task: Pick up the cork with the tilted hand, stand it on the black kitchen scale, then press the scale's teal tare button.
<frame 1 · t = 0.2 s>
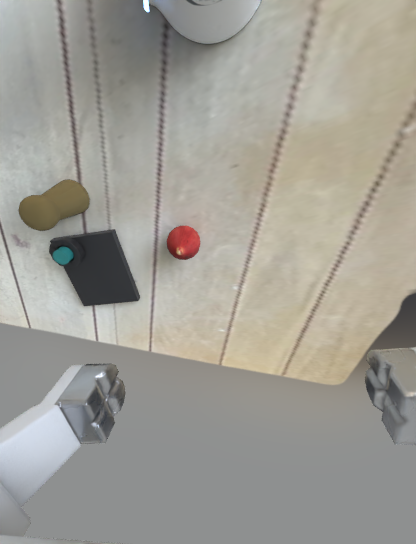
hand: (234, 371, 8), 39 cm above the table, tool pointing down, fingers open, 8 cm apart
scale: (99, 269, 54), on the table
cork: (73, 196, 46), on the table
onion: (187, 234, 48), on the table
tare button: (63, 255, 49), point 4 cm above the table, slide at 0.1 cm
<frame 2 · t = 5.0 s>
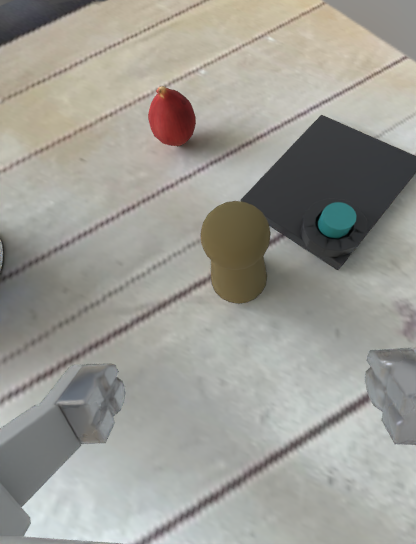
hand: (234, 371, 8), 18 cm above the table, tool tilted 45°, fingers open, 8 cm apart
scale: (326, 188, 30), on the table
cork: (238, 277, 28), on the table
onion: (179, 144, 36), on the table
tare button: (336, 220, 25), point 4 cm above the table, slide at 0.1 cm
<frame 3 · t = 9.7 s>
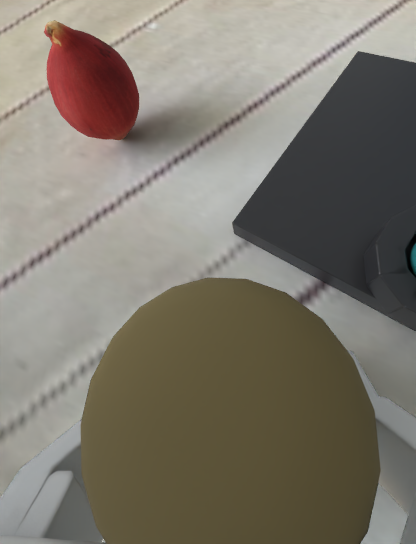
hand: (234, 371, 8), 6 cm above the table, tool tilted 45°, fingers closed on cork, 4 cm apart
scale: (393, 181, 16), on the table
cork: (246, 382, 14), on the table, touching gripper
onion: (123, 137, 22), on the table
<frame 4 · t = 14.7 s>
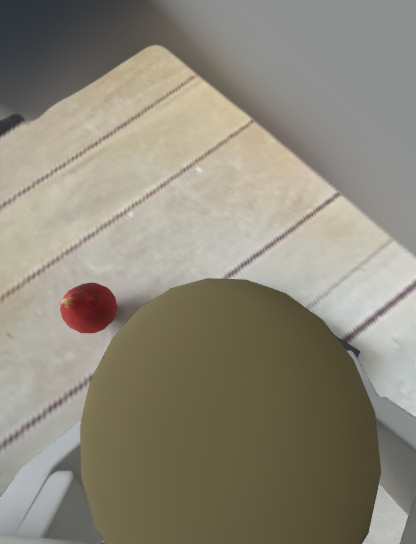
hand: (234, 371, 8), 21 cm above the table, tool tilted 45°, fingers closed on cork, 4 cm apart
cork: (246, 382, 14), point 15 cm above the table, touching gripper
onion: (108, 314, 34), on the table
when the fingers open (7 cm above the table, at t = 19.5 s): cork stays where it is, resting on scale.
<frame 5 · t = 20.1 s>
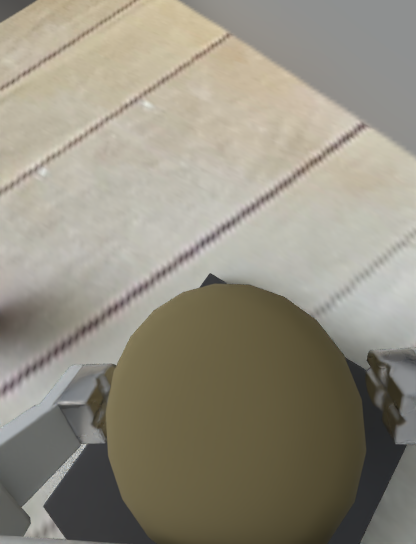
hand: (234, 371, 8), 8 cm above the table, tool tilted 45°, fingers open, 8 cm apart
scale: (225, 451, 14), on the table
cork: (248, 379, 14), point 1 cm above the table, touching scale
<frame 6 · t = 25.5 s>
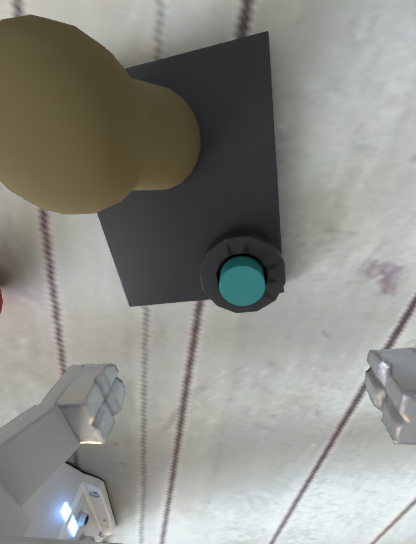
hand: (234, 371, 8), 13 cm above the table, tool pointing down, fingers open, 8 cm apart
scale: (185, 198, 19), on the table
cork: (155, 141, 17), point 1 cm above the table, touching scale
tare button: (241, 280, 18), point 4 cm above the table, slide at 0.1 cm
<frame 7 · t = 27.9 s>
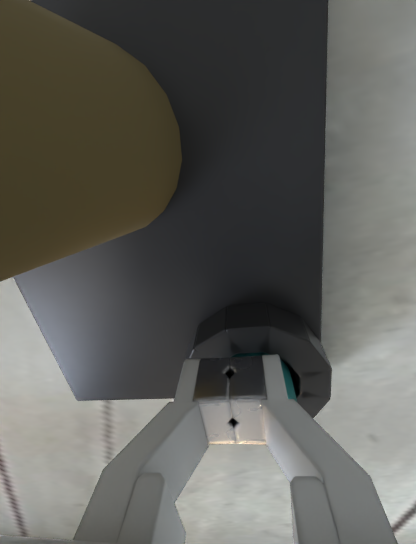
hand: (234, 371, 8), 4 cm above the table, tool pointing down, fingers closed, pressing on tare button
scale: (160, 245, 11), on the table
cork: (97, 150, 9), point 1 cm above the table, touching scale
tare button: (255, 395, 10), point 3 cm above the table, slide at 0.0 cm, touching gripper
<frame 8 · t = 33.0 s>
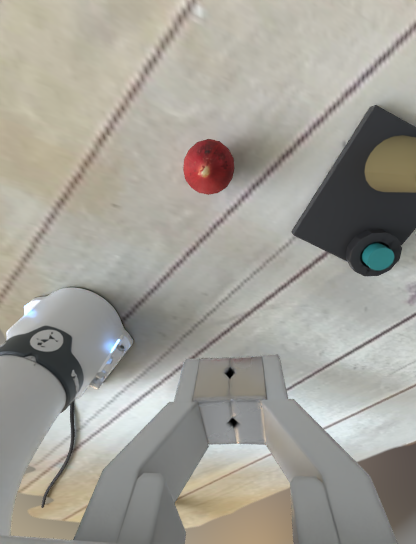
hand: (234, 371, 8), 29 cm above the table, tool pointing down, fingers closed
scale: (370, 199, 33), on the table
cork: (391, 164, 30), point 1 cm above the table, touching scale
onion: (211, 166, 33), on the table
tare button: (377, 256, 32), point 4 cm above the table, slide at 0.1 cm
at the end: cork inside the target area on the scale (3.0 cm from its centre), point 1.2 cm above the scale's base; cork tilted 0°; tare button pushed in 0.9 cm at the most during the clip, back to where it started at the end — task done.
